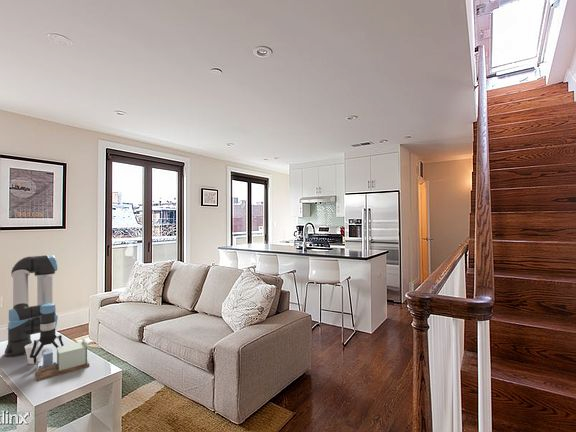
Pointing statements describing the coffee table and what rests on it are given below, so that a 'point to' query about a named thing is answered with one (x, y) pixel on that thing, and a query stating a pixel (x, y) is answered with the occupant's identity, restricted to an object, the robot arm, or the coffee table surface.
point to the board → (55, 370)
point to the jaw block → (47, 358)
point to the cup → (28, 351)
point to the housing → (72, 355)
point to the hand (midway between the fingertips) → (47, 364)
